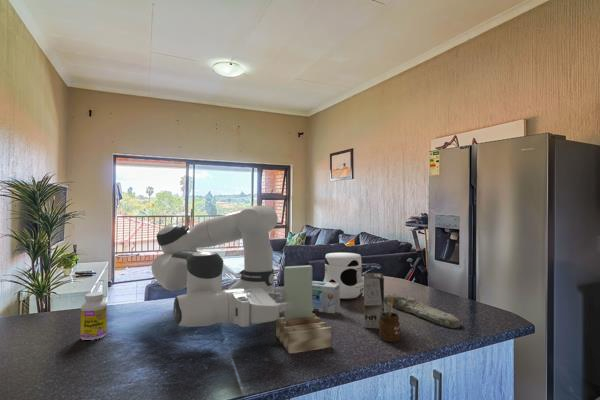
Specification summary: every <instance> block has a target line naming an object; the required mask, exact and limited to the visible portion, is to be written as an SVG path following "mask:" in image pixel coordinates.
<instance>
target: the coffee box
mask: <svg viewBox="0 0 600 400" xmlns="http://www.w3.org/2000/svg"><path fill="white" fill-rule="evenodd" d="M363 284H364V291H363V328H365V329H377V330H379V323H380V320H381V313H384V312H385V311H384V310H385V306H384V305H385V302H384V294H385V278H384V274H383V273H381V272H364V273H363Z"/></svg>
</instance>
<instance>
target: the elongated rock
mask: <svg viewBox="0 0 600 400" xmlns="http://www.w3.org/2000/svg"><path fill="white" fill-rule="evenodd" d="M388 295H389V303H390V295H391V303H392V295H393V306H392V308H394V307H395V309H396V308H397V310H399V311H403V312H406V313H409V314H413V315H414V316H416V317H419V318H422V319H424V320H427V321H428V322H431V323H433V324H436V325H439V326H443V327H447V328H451V329H458V328H460V327H461V321H460V319H459V318H457V316H455V315H453V314H451V313H447V312H445V311H442V310H440V309H439V308H435V307H433V306H429V305H427V304H426V303H423V302H422V301H421V300H420V299H416V298H413V297H409V296H403V295H398V294H396V293H384V303H385V304H387V303H388Z"/></svg>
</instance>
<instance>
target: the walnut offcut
mask: <svg viewBox="0 0 600 400" xmlns="http://www.w3.org/2000/svg"><path fill="white" fill-rule="evenodd" d="M319 318H320V317H318V316H317V315H315V316H313V317H305V318H297V319H289V320H286V327H289V326H297V325H305V324H312V323H319Z"/></svg>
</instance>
